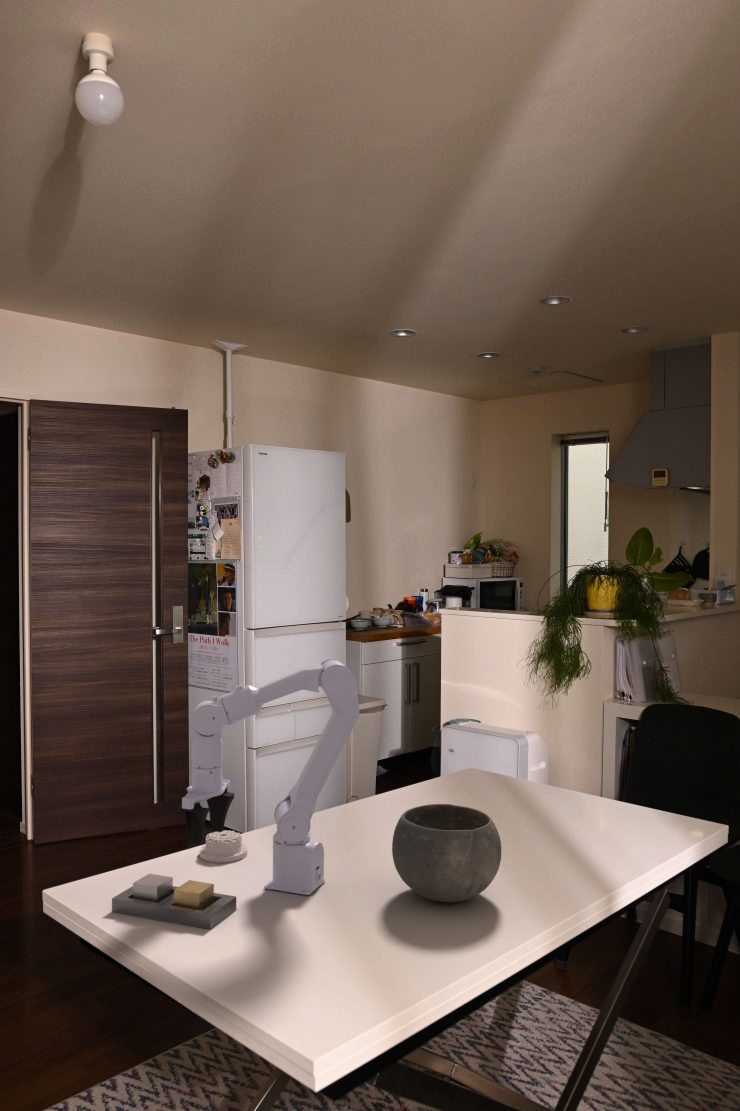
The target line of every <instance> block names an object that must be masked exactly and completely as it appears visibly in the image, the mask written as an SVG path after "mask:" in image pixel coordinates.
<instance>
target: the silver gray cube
mask: <svg viewBox="0 0 740 1111" xmlns="http://www.w3.org/2000/svg"><path fill="white" fill-rule="evenodd" d="M173 879H174V878H173V876H172V877H171V876H166V875H160V874H154V873H147V874H146V875H144V876H143V877H140V878H139V879H138V880H135V881H133V884H132V886H133V899H138V900H143V901H149V902H155V903H159V902H161V901H162V900H164V899H165V898H167V897H168V896H170V895H171V894H173V886H174V884H173V883H174V880H173Z"/></svg>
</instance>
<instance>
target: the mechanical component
mask: <svg viewBox="0 0 740 1111" xmlns="http://www.w3.org/2000/svg"><path fill="white" fill-rule="evenodd" d="M242 838H243V837H242V835H241V832H235V830H226V829H225V830H224V829H223V831H222V832H215V831H213V832H209V833H208V834H207V835H206V836H205V845H203V846H202V847H200V849H199V857H200V859H202V860H203V861H206V862H209V863H220V864H221V863H223V864H224V863H225V864H226V863H232V862H236V861H237V862H238V861H239V860H242V859H244V858H246V857H247V856H248V846H247V845H245V844H243V842H242V841H243V839H242Z"/></svg>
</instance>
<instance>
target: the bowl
mask: <svg viewBox="0 0 740 1111" xmlns="http://www.w3.org/2000/svg"><path fill="white" fill-rule="evenodd" d="M391 842H392V844H391V851H392V852H391V853H392V854H391V855H392V859H393V864H394V867H395V870H396V872H397V874H398V875H399V877H400V879H401V880H402V881H403V882H404V884H406V886H408V888H410V889H411V891H413V892H414V893H416V894H418V895H419V896H421V897H423V898H425V899H427V900H429V901H433V902H440V903H457V902H462V901H466V900H469V899H471V898H474V897H476V896H478V895H479V894H481V893H482V892H484V891H485V890H486V889H487V888H489V886H490V885H491V884H492V882H493V880H494V879H495V877H496V875H497V874H498V871H499V868H500V865H501V860H502V840H501V837H500V833H499V831H498V829H497V826H496V825H495V822H494V821H493V819H492V818H491V817H490V816H489V815H488V814H486V813H485V812H483V811H481V810H478V809H476V808H472V807H469V806H463V805H457V804H451V803H450V804H449V803H432V804H431V803H430V804H423V805H419V806H416V807H412V808H409V809H407V810H406V811H404V813H402V815H401V816H400V817H399V819H398V821H397V823H396V825H395V828H394V831H393V835H392V841H391Z"/></svg>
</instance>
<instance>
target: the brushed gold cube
mask: <svg viewBox="0 0 740 1111" xmlns="http://www.w3.org/2000/svg"><path fill="white" fill-rule="evenodd" d="M177 887H178V888H176V889H175V890H174V906H178V907H184V908H190V909H195V910H201V911H203V910H205V909H206V908H208V907H209V906H210V905H212V904H213V903H214V893H215V884H214V883H211V882H210V883H209V882H204V881H198V880H192V879H190V880H187V881H186V882H184V883H183V884H181V885H179V886H177Z"/></svg>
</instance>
